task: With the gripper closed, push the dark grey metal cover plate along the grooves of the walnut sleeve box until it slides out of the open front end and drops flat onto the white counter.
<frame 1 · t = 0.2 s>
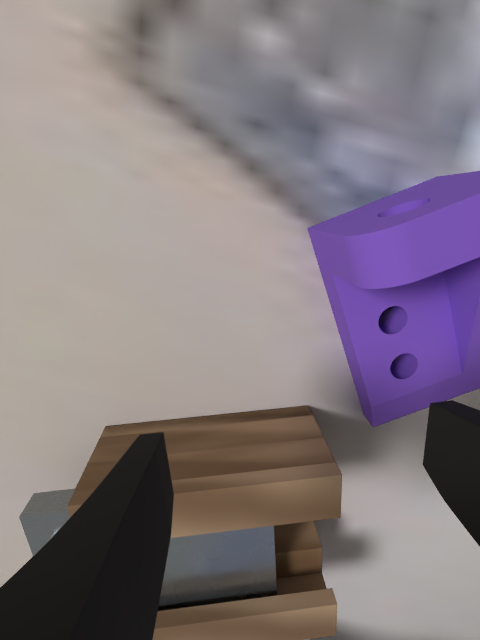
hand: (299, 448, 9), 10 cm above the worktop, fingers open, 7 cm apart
sleeve box: (216, 488, 22), on the worktop
cover plate: (163, 537, 19), point 3 cm above the worktop, touching sleeve box
bracket: (391, 306, 19), on the worktop
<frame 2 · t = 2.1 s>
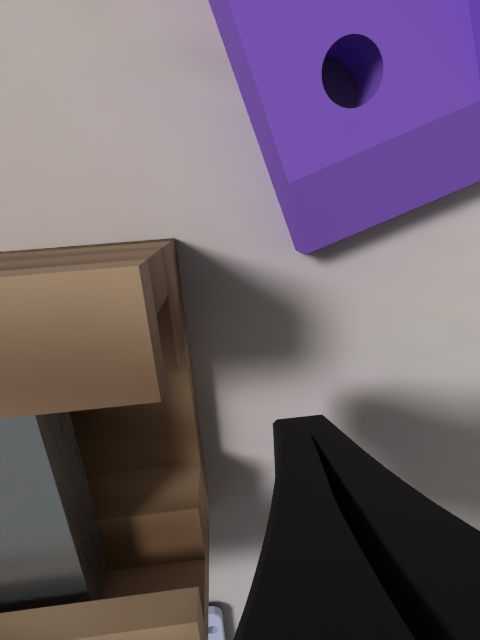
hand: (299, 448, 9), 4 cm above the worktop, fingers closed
sleeve box: (26, 409, 12), on the worktop
bracket: (334, 3, 10), on the worktop
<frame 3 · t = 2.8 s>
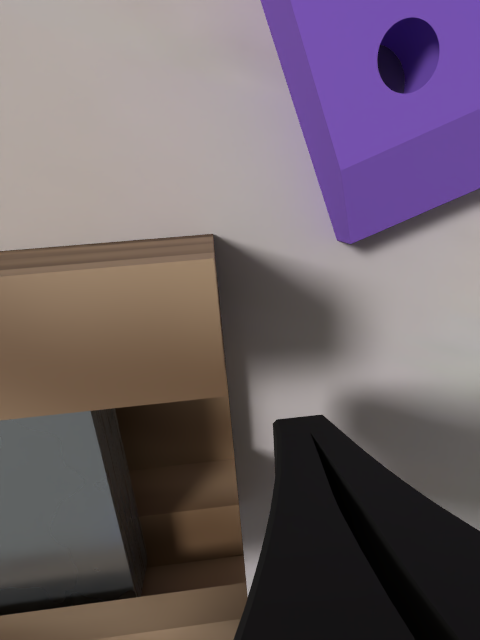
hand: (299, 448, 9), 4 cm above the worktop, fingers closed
sleeve box: (60, 405, 12), on the worktop
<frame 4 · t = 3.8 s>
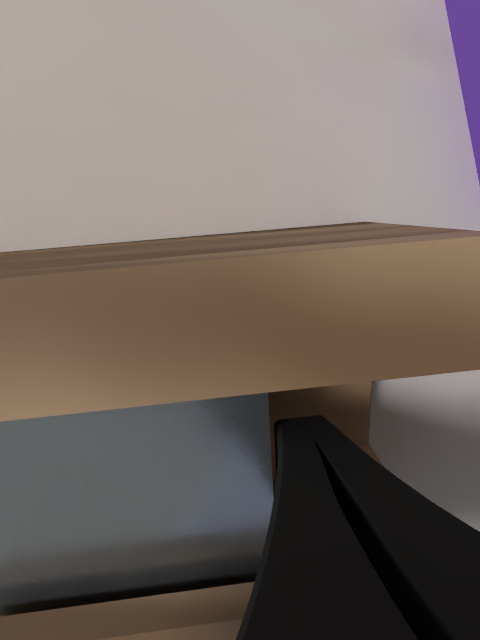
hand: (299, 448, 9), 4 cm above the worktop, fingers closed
sleeve box: (198, 391, 12), on the worktop
cover plate: (47, 462, 9), point 3 cm above the worktop, touching gripper, sleeve box
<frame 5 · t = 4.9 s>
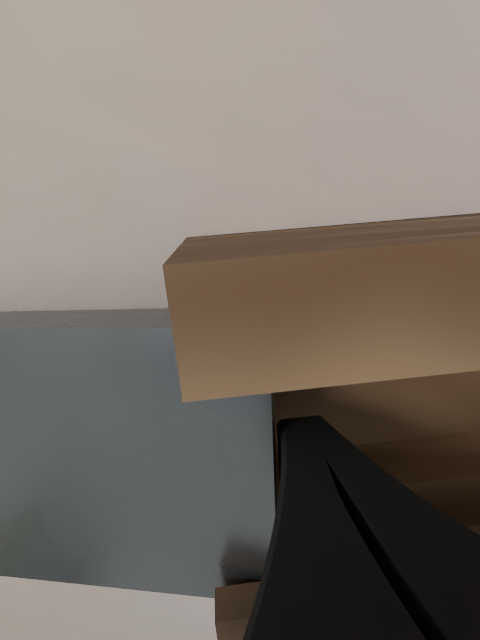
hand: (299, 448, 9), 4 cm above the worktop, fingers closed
sleeve box: (365, 374, 13), on the worktop
cover plate: (73, 439, 10), point 2 cm above the worktop, tilted 12°, touching gripper, sleeve box
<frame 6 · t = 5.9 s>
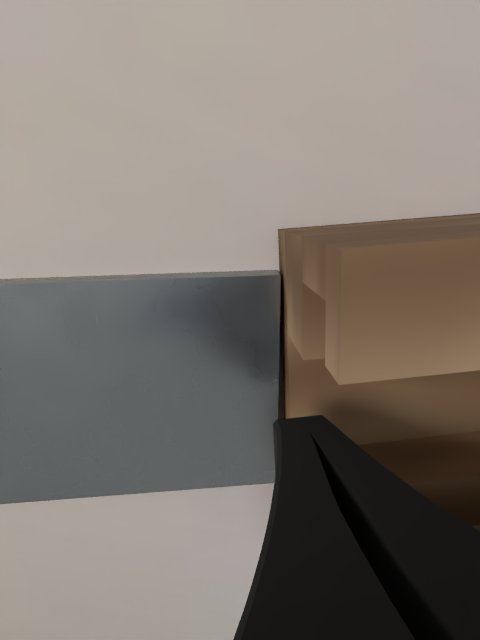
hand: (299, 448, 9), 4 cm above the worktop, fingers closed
sleeve box: (440, 366, 13), on the worktop
cover plate: (111, 380, 13), on the worktop
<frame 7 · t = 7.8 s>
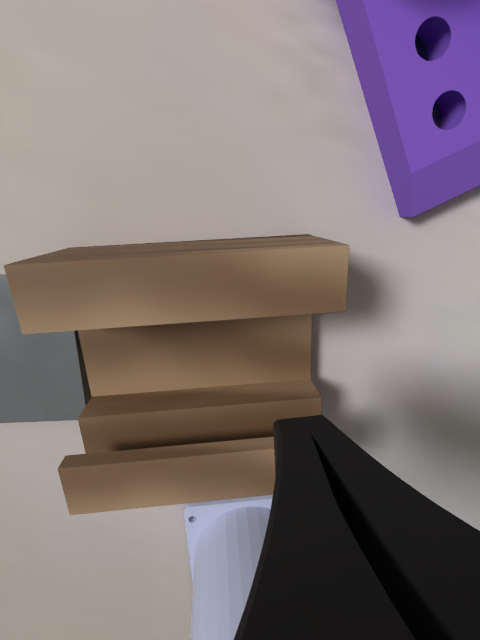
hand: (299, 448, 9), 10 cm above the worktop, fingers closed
sleeve box: (200, 341, 19), on the worktop
bracket: (425, 64, 16), on the worktop
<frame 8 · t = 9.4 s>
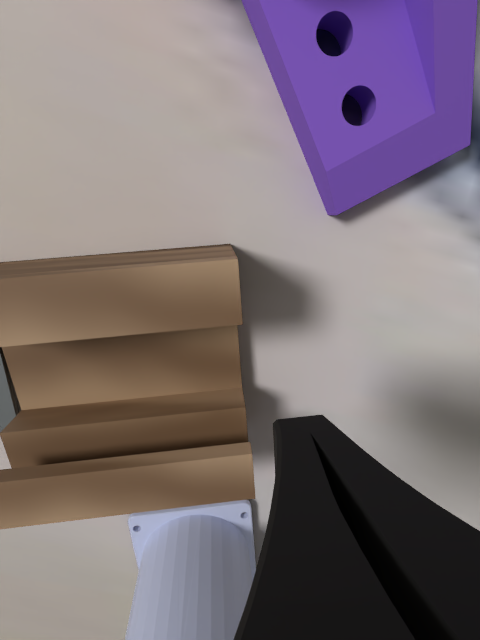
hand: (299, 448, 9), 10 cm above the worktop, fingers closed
sleeve box: (130, 353, 19), on the worktop
bracket: (342, 60, 16), on the worktop
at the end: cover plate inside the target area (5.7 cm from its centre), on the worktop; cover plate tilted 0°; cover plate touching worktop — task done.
